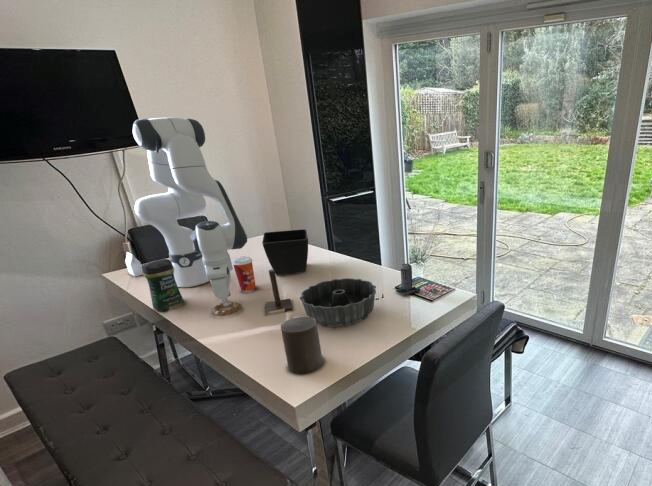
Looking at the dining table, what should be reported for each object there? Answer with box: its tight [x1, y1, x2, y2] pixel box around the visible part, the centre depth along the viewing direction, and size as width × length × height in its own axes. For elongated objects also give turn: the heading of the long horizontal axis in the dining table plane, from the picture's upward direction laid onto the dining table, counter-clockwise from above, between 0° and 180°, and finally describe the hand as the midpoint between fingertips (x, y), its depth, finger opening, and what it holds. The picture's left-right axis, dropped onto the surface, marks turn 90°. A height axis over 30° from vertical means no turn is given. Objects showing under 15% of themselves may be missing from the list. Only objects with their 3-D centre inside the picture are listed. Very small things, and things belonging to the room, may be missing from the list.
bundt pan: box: [299, 277, 377, 328], centre depth 146 cm, size 26×26×10 cm
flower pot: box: [261, 228, 309, 276], centre depth 189 cm, size 19×19×17 cm
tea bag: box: [124, 251, 143, 277], centre depth 188 cm, size 4×7×10 cm, turn 54°
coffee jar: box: [141, 257, 184, 312], centre depth 154 cm, size 10×8×19 cm
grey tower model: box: [395, 263, 421, 297], centre depth 164 cm, size 9×8×12 cm
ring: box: [210, 301, 242, 317], centre depth 152 cm, size 10×10×2 cm
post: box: [265, 269, 293, 313], centre depth 152 cm, size 9×9×15 cm
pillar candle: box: [280, 315, 324, 375], centre depth 117 cm, size 10×10×15 cm
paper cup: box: [231, 255, 256, 292], centre depth 168 cm, size 8×8×14 cm
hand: (227, 300), depth 154 cm, fingers open, 8 cm apart
